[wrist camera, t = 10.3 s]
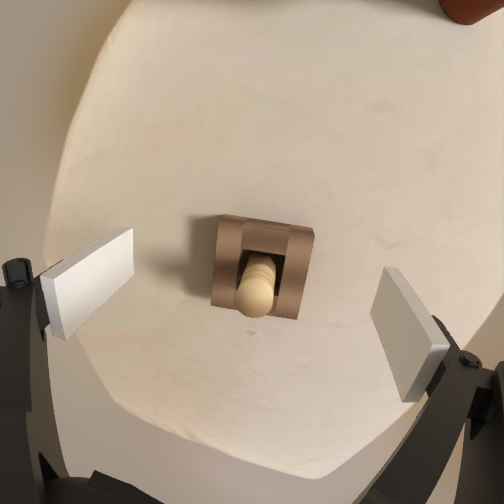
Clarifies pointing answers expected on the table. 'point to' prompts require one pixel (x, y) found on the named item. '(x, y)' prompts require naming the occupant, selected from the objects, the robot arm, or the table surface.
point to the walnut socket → (265, 240)
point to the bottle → (470, 9)
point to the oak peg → (257, 285)
